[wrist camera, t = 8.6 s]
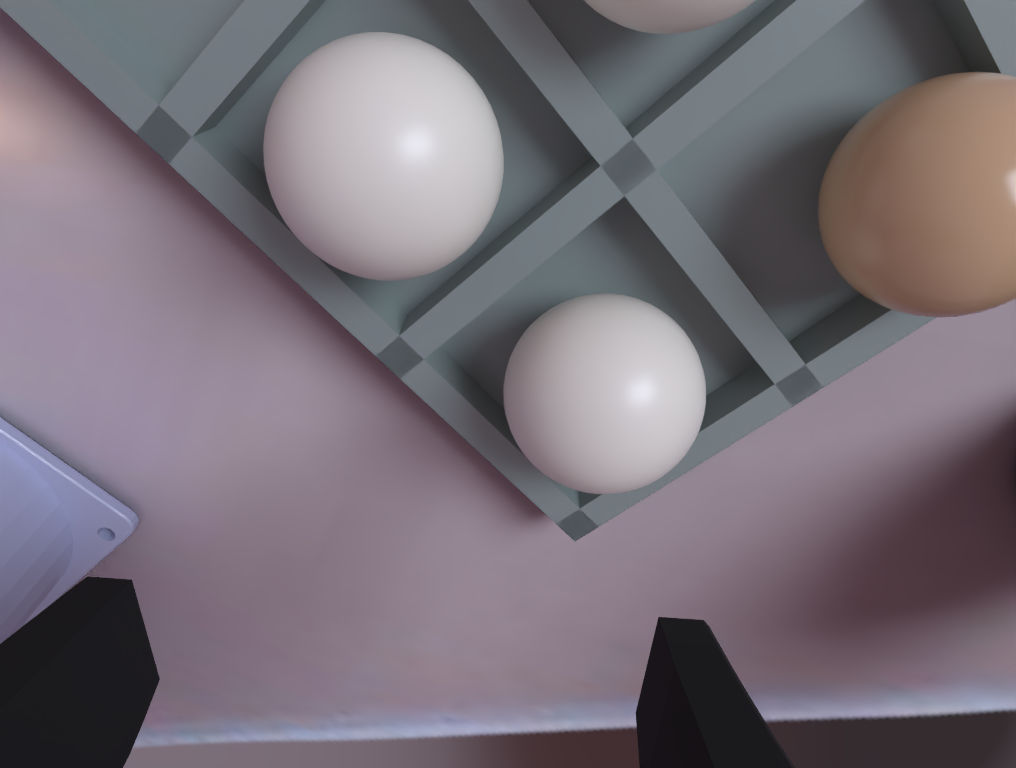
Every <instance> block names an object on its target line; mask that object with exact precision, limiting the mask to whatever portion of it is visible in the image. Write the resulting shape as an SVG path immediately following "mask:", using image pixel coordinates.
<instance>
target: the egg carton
mask: <svg viewBox="0 0 1016 768" xmlns="http://www.w3.org/2000/svg"><path fill="white" fill-rule="evenodd" d="M0 8H1V9H3V10H4V11H5V12H6V13H7V14H8V15H9V16H10V17H11V18H12V19H13V20H14V21H15V22H17V23H18V24H19V25H20V26H21V27H22V28H23V29H24V30H25V31H26V32H27V33H28V34H29V35H31V36H32V37H33V38H34V39H35V40H36V41H37V42H38V43H39V44H40V45H41V46H42V47H43V48H45V49H46V50H47V51H48V52H49V53H50V54H51V55H52V56H53V57H54V58H55V59H56V60H57V61H59V62H60V63H61V64H62V65H63V66H64V67H65V68H66V69H67V70H68V71H69V72H70V73H71V74H72V75H74V76H75V77H76V78H77V79H78V80H79V81H80V82H81V83H82V84H83V85H84V86H85V87H86V88H88V89H89V90H90V91H91V92H92V93H93V94H94V95H95V96H96V97H97V98H98V99H99V100H100V101H102V102H103V103H104V104H105V105H106V106H107V107H108V108H109V109H110V110H111V111H112V112H113V113H114V114H116V115H117V116H118V117H119V118H120V119H121V120H122V121H123V122H124V123H125V124H126V125H127V126H128V127H130V128H131V129H132V130H133V131H134V132H135V133H136V134H137V135H138V136H139V137H140V138H141V139H142V140H144V141H145V142H146V143H147V144H148V145H149V146H150V147H151V148H152V149H153V150H154V151H155V152H156V153H158V154H159V155H160V156H161V157H162V158H163V159H164V160H165V161H166V162H167V163H168V164H169V165H170V166H172V167H173V168H174V169H175V170H176V171H177V172H178V173H179V174H180V175H181V176H182V177H183V178H184V179H186V180H187V181H188V182H189V183H190V184H191V185H192V186H193V187H194V188H195V189H196V190H197V191H198V192H199V193H201V194H202V195H203V196H204V197H205V198H206V199H207V200H208V201H209V202H210V203H211V204H212V205H213V206H215V207H216V208H217V209H218V210H219V211H220V212H221V213H222V214H223V215H224V216H225V217H226V218H227V219H229V220H230V221H231V222H232V223H233V224H234V225H235V226H236V227H237V228H238V229H239V230H240V231H241V232H243V233H244V234H245V235H246V236H247V237H248V238H249V239H250V240H251V241H252V242H253V243H254V244H255V245H257V246H258V247H259V248H260V249H261V250H262V251H263V252H264V253H265V254H266V255H267V256H268V257H269V258H271V259H272V260H273V261H274V262H275V263H276V264H277V265H278V266H279V267H280V268H281V269H282V270H283V271H285V272H286V273H287V274H288V275H289V276H290V277H291V278H292V279H293V280H294V281H295V282H296V283H297V284H299V285H300V286H301V287H302V288H303V289H304V290H305V291H306V292H307V293H308V294H309V295H310V296H311V297H312V298H314V299H315V300H316V301H317V302H318V303H319V304H320V305H321V306H322V307H323V308H324V309H325V310H326V311H328V312H329V313H330V314H331V315H332V316H333V317H334V318H335V319H336V320H337V321H338V322H339V323H340V324H342V325H343V326H344V327H345V328H346V329H347V330H348V331H349V332H350V333H351V334H352V335H353V336H354V337H356V338H357V339H358V340H359V341H360V342H361V343H362V344H363V345H364V346H365V347H366V348H367V349H368V350H370V351H371V352H372V353H373V354H374V355H375V356H376V357H377V358H378V359H379V360H380V361H381V362H382V363H384V364H385V365H386V366H387V367H388V368H389V369H390V370H391V371H392V372H393V373H394V374H395V375H396V376H398V377H399V378H400V379H401V380H402V381H403V382H404V383H405V384H406V385H407V386H408V387H409V388H410V389H412V390H413V391H414V392H415V393H416V394H417V395H418V396H419V397H420V398H421V399H422V400H423V401H424V402H425V403H427V404H428V405H429V406H430V407H431V408H432V409H433V410H434V411H435V412H436V413H437V414H438V415H439V416H441V417H442V418H443V419H444V420H445V421H446V422H447V423H448V424H449V425H450V426H451V427H452V428H453V429H455V430H456V431H457V432H458V433H459V434H460V435H461V436H462V437H463V438H464V439H465V440H466V441H467V442H469V443H470V444H471V445H472V446H473V447H474V448H475V449H476V450H477V451H478V452H479V453H480V454H481V455H483V456H484V457H485V458H486V459H487V460H488V461H489V462H490V463H491V464H492V465H493V466H494V467H495V468H497V469H498V470H499V471H500V472H501V473H502V474H503V475H504V476H505V477H506V478H507V479H508V480H509V481H511V482H512V483H513V484H514V485H515V486H516V487H517V488H518V489H519V490H520V491H521V492H522V493H523V494H525V495H526V496H527V497H528V498H529V499H530V500H531V501H532V502H533V503H534V504H535V505H536V506H537V507H539V508H540V509H541V510H542V511H543V512H544V513H545V514H546V515H547V516H548V517H549V518H550V519H551V520H552V521H554V522H555V523H556V524H557V525H558V526H559V527H560V528H561V529H562V530H563V531H564V532H565V533H566V534H568V535H569V536H570V537H571V538H572V539H573V540H574V541H576V540H578V539H580V538H581V537H583V536H585V535H586V534H588V533H589V532H591V531H593V530H594V529H596V528H597V527H599V526H601V525H602V524H604V523H606V522H607V521H609V520H610V519H612V518H614V517H615V516H617V515H618V514H620V513H622V512H623V511H625V510H626V509H628V508H630V507H631V506H633V505H635V504H636V503H638V502H639V501H641V500H643V499H644V498H646V497H647V496H649V495H651V494H652V493H654V492H656V491H657V490H659V489H660V488H662V487H664V486H665V485H667V484H668V483H670V482H672V481H673V480H675V479H677V478H678V477H680V476H681V475H683V474H685V473H686V472H688V471H689V470H691V469H693V468H694V467H696V466H697V465H699V464H701V463H702V462H704V461H706V460H707V459H709V458H710V457H712V456H714V455H715V454H717V453H718V452H720V451H722V450H723V449H725V448H727V447H728V446H730V445H731V444H733V443H735V442H736V441H738V440H739V439H741V438H743V437H744V436H746V435H748V434H749V433H751V432H752V431H754V430H756V429H757V428H759V427H760V426H762V425H764V424H765V423H767V422H769V421H770V420H772V419H773V418H775V417H777V416H778V415H780V414H781V413H783V412H785V411H786V410H788V409H789V408H791V407H793V406H794V405H796V404H798V403H799V402H801V401H802V400H804V399H806V398H807V397H809V396H810V395H812V394H814V393H815V392H817V391H819V390H820V389H822V388H823V387H825V386H827V385H828V384H830V383H831V382H833V381H835V380H836V379H838V378H840V377H841V376H843V375H844V374H846V373H848V372H849V371H851V370H852V369H854V368H856V367H857V366H859V365H860V364H862V363H864V362H865V361H867V360H869V359H870V358H872V357H873V356H875V355H877V354H878V353H880V352H881V351H883V350H885V349H886V348H888V347H890V346H891V345H893V344H894V343H896V342H898V341H899V340H901V339H902V338H904V337H906V336H907V335H909V334H911V333H912V332H914V331H915V330H917V329H919V328H920V327H922V326H923V325H925V324H927V323H928V322H930V321H932V320H933V319H935V318H936V317H924V316H915V315H910V314H905V313H901V312H898V311H894V310H892V309H889V308H886V307H883V306H881V305H879V304H877V303H875V302H873V301H871V300H870V299H868V298H866V297H865V296H863V295H862V294H861V293H859V292H858V291H856V290H855V289H854V288H853V287H852V286H851V285H850V284H849V283H848V282H847V281H846V280H845V279H844V278H843V277H842V276H841V275H840V274H839V273H838V271H837V270H836V268H835V267H834V265H833V264H832V262H831V260H830V259H829V257H828V254H827V252H826V250H825V248H824V245H823V242H822V239H821V234H820V230H819V224H818V198H819V192H820V187H821V183H822V180H823V177H824V173H825V171H826V168H827V166H828V164H829V161H830V159H831V157H832V155H833V154H834V152H835V150H836V148H837V147H838V145H839V144H840V142H841V141H842V139H843V138H844V137H845V135H846V134H847V133H848V132H849V130H850V129H851V128H852V127H853V126H854V125H855V124H856V123H857V122H858V121H859V120H860V119H861V118H862V117H863V116H864V115H865V114H866V113H868V112H869V111H870V110H871V109H872V108H874V107H875V106H877V105H878V104H879V103H881V102H882V101H884V100H885V99H887V98H888V97H890V96H892V95H893V94H895V93H897V92H899V91H901V90H903V89H905V88H907V87H909V86H911V85H914V84H917V83H920V82H922V81H925V80H928V79H931V78H934V77H938V76H943V75H948V74H954V73H963V72H990V73H1000V74H1006V75H1010V76H1015V77H1016V0H0Z"/></svg>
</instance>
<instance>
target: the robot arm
mask: <svg viewBox="0 0 1016 768" xmlns="http://www.w3.org/2000/svg"><path fill="white" fill-rule="evenodd" d="M137 526H138V518H137V516H136V514H135V513H134V512H133V511H132V510H131V509H130V508H128V507H127V506H125V505H124V504H122V503H121V502H120V501H118V500H117V499H115V498H114V497H113V496H111V495H110V494H108V493H107V492H105V491H104V490H103V489H101V488H100V487H98V486H97V485H96V484H94V483H93V482H91V481H90V480H88V479H87V478H86V477H84V476H83V475H81V474H80V473H79V472H77V471H76V470H74V469H73V468H71V467H70V466H69V465H67V464H66V463H64V462H63V461H62V460H60V459H59V458H57V457H56V456H54V455H53V454H52V453H50V452H49V451H47V450H46V449H45V448H43V447H42V446H40V445H39V444H37V443H36V442H35V441H33V440H32V439H30V438H29V437H28V436H26V435H25V434H23V433H22V432H20V431H19V430H18V429H16V428H15V427H13V426H12V425H11V424H9V423H8V422H6V421H5V420H3V419H2V418H1V417H0V768H123V766H124V764H125V762H126V760H127V758H128V757H129V754H130V752H131V750H132V747H133V745H134V743H135V740H136V738H137V735H138V733H139V731H140V728H141V726H142V723H143V721H144V718H145V716H146V713H147V711H148V708H149V706H150V703H151V700H152V698H153V695H154V693H155V690H156V687H157V685H158V682H159V680H160V679H159V675H158V672H157V668H156V664H155V661H154V657H153V654H152V650H151V647H150V643H149V639H148V636H147V632H146V629H145V625H144V622H143V618H142V614H141V611H140V607H139V604H138V600H137V596H136V593H135V589H134V586H133V582H132V580H127V579H113V578H99V577H86V578H85V579H84V580H82V581H81V582H80V583H78V584H77V585H76V586H74V587H73V588H72V589H70V590H69V591H68V592H66V591H67V590H68V589H69V588H70V587H72V586H73V585H74V584H75V583H76V582H77V581H79V580H80V579H81V578H82V577H83V576H84V575H85V574H87V573H88V572H89V571H90V570H91V569H92V568H93V567H95V566H96V565H97V564H98V563H99V562H100V561H102V560H103V559H104V558H105V557H106V556H107V555H108V554H110V553H111V552H112V551H113V550H114V549H115V548H116V547H118V546H119V545H120V544H121V543H122V542H123V541H125V540H126V539H127V538H128V537H129V536H130V535H131V534H132V533H133V531H134V530H135V529H136V527H137ZM107 528H108V529H110V530H112V531H113V532H112V531H110V530H108V529H107ZM65 592H66V593H65ZM64 593H65V594H64ZM62 594H64V595H62ZM61 595H62V596H61ZM60 596H61V597H60ZM59 597H60V598H59ZM54 601H55V602H54ZM636 722H637V735H638V750H639V763H640V768H795V767H794V766H793V764H792V763H791V761H790V760H789V758H788V757H787V755H786V754H785V752H784V750H783V749H782V748H781V746H780V745H779V743H778V741H777V740H776V738H775V737H774V735H773V733H772V732H771V730H770V729H769V727H768V726H767V724H766V722H765V721H764V719H763V718H762V716H761V714H760V713H759V711H758V709H757V708H756V706H755V704H754V703H753V701H752V700H751V698H750V696H749V695H748V693H747V691H746V690H745V688H744V686H743V685H742V683H741V681H740V680H739V678H738V676H737V674H736V673H735V671H734V669H733V668H732V666H731V664H730V662H729V661H728V659H727V657H726V655H725V654H724V652H723V650H722V648H721V647H720V645H719V643H718V641H717V640H716V638H715V636H714V634H713V632H712V630H711V629H710V627H709V626H708V625H707V624H706V622H705V621H704V620H694V619H679V618H665V617H659V618H658V622H657V626H656V631H655V635H654V639H653V643H652V647H651V651H650V656H649V660H648V664H647V668H646V672H645V677H644V681H643V685H642V689H641V693H640V698H639V702H638V706H637V710H636Z"/></svg>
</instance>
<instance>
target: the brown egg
mask: <svg viewBox="0 0 1016 768" xmlns="http://www.w3.org/2000/svg"><path fill="white" fill-rule="evenodd" d="M818 224H819V230H820V234H821V239H822V242H823V245H824V248H825V250H826V252H827V254H828V257H829V259H830V260H831V262H832V264H833V265H834V267H835V268H836V270H837V271H838V273H839V274H840V275H841V276H842V277H843V278H844V279H845V280H846V281H847V282H848V283H849V284H850V285H851V286H852V287H853V288H854V289H855V290H856V291H858V292H859V293H861V294H862V295H863V296H865V297H866V298H868V299H870V300H871V301H873V302H875V303H877V304H879V305H881V306H883V307H886V308H889V309H892V310H894V311H898V312H901V313H905V314H910V315H915V316H924V317H957V316H963V315H968V314H974V313H979V312H982V311H986V310H989V309H992V308H995V307H998V306H1001V305H1003V304H1005V303H1007V302H1010V301H1012V300H1014V299H1016V77H1015V76H1010V75H1006V74H1000V73H990V72H963V73H954V74H948V75H943V76H938V77H934V78H931V79H928V80H925V81H922V82H920V83H917V84H914V85H911V86H909V87H907V88H905V89H903V90H901V91H899V92H897V93H895V94H893V95H892V96H890V97H888V98H887V99H885V100H884V101H882V102H881V103H879V104H878V105H877V106H875V107H874V108H872V109H871V110H870V111H869V112H868V113H866V114H865V115H864V116H863V117H862V118H861V119H860V120H859V121H858V122H857V123H856V124H855V125H854V126H853V127H852V128H851V129H850V130H849V132H848V133H847V134H846V135H845V137H844V138H843V139H842V141H841V142H840V144H839V145H838V147H837V148H836V150H835V152H834V154H833V155H832V157H831V159H830V161H829V164H828V166H827V168H826V171H825V173H824V177H823V180H822V183H821V187H820V192H819V198H818Z"/></svg>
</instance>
